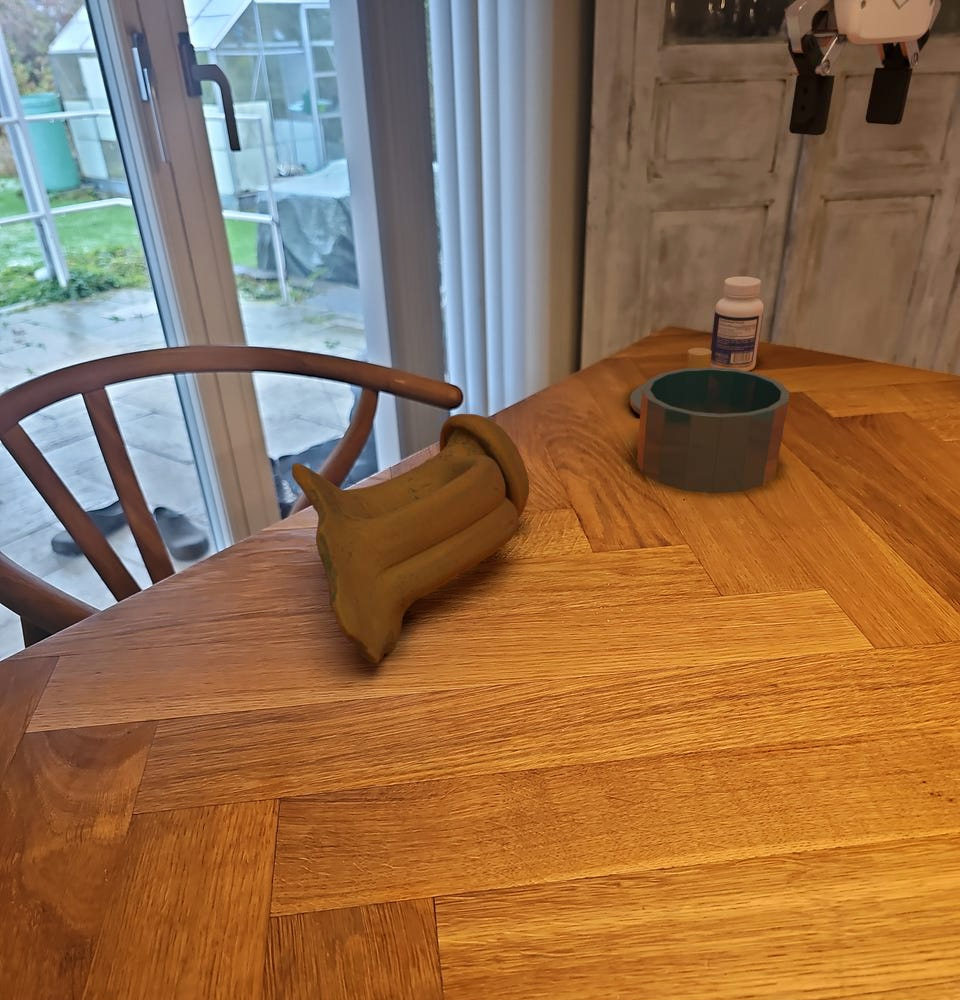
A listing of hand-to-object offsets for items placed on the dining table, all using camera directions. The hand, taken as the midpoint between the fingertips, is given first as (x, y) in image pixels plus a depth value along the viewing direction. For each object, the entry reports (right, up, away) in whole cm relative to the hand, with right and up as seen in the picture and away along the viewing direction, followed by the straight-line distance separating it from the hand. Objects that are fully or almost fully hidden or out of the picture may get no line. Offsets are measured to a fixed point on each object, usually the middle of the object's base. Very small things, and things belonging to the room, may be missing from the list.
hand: (845, 128), depth 73 cm
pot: (-10, -27, +8) cm, 30 cm away
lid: (-8, -17, +20) cm, 28 cm away
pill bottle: (0, -10, +32) cm, 33 cm away
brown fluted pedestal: (-35, -39, -7) cm, 53 cm away
